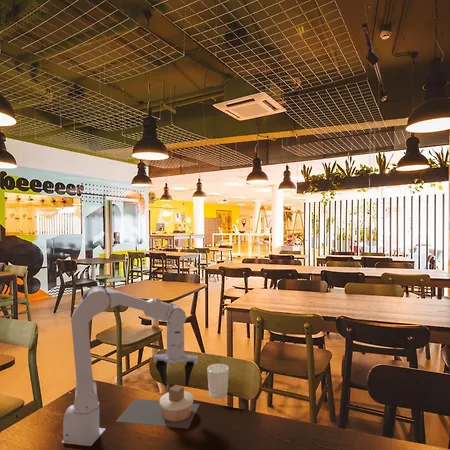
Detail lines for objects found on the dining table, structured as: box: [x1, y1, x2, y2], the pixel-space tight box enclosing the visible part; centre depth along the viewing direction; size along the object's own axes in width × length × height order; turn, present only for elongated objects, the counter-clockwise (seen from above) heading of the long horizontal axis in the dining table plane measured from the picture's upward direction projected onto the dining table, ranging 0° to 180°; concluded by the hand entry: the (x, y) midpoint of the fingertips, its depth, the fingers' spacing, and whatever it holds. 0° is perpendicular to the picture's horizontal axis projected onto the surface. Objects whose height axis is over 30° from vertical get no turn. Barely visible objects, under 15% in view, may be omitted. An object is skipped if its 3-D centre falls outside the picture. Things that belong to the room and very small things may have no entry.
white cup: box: [206, 363, 230, 399], centre depth 121 cm, size 8×8×10 cm
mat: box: [115, 398, 201, 430], centre depth 110 cm, size 24×14×1 cm, turn 80°
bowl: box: [162, 406, 191, 422], centre depth 109 cm, size 9×9×4 cm
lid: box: [159, 384, 194, 411], centre depth 109 cm, size 11×11×4 cm
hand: (175, 384), depth 109 cm, fingers open, 7 cm apart
